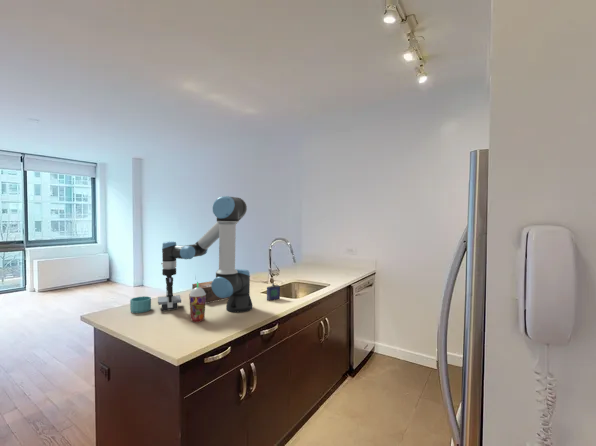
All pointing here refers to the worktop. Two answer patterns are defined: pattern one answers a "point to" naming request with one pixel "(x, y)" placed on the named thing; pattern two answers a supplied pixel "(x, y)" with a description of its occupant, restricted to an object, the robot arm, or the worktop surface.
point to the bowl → (140, 304)
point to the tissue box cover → (208, 291)
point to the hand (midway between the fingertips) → (169, 304)
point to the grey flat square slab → (164, 300)
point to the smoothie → (197, 304)
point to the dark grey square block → (164, 307)
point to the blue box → (273, 292)
